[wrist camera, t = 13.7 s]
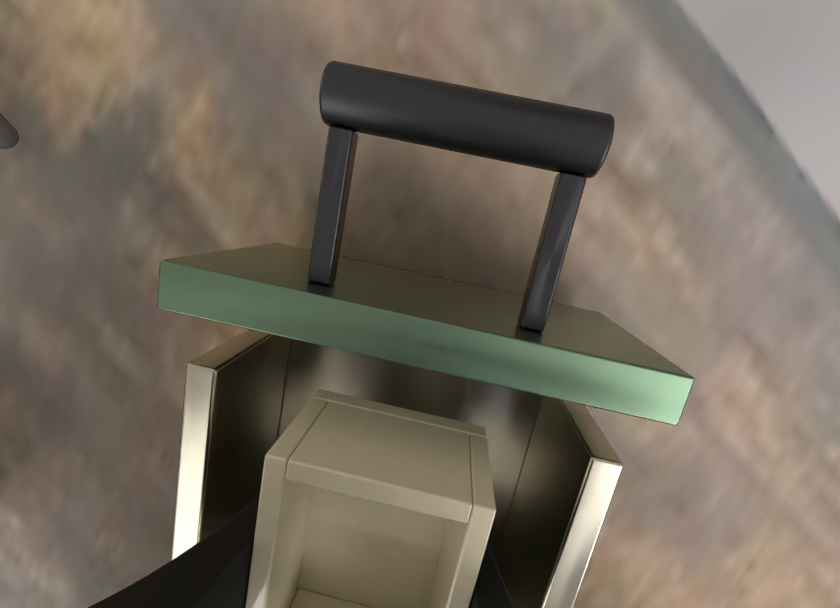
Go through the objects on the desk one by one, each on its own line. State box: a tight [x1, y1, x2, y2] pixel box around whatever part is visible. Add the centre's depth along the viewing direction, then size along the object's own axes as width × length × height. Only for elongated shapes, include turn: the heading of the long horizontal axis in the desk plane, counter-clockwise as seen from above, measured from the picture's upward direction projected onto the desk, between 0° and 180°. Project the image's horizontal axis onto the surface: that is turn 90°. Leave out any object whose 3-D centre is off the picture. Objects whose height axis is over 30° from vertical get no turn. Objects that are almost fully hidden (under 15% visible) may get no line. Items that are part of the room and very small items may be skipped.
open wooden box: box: [245, 389, 496, 608], centre depth 11 cm, size 5×7×4 cm
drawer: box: [157, 61, 694, 608], centre depth 14 cm, size 21×12×6 cm, turn 168°
